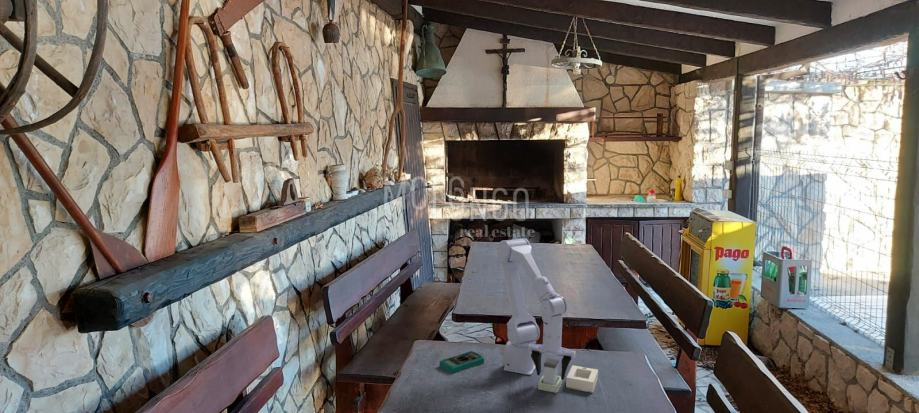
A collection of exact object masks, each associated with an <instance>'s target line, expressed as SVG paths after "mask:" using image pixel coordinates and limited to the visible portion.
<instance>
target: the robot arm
mask: <svg viewBox="0 0 919 413" xmlns="http://www.w3.org/2000/svg"><path fill="white" fill-rule="evenodd" d="M496 251H497V256H498V260H499V265H500V267H501V270H502V274H503V279H504V284H505V288H506V292H507V298H508V301H509V302H508V303H509V308H510V311H511V315H512V316H511V318H510V319H509V321H507V323H506V327H507V331H506V332H507V333H506V335H507V336H506V337H507V339H508V341H506V344H505V349H504V364H503V366H504V368H503V371H504V372H505V371H506V372H512V373H518V374H522V375H528V376H531V375H533V373H534V371H535V369H536V374H537V376H540V375H541V372H542V356H543V354H545V355H547V356H559V357H562V358H561V362H560V363H561V374H560V376H561V379H562V380H563V381H564V380H565V377H566V372H567V370H568V366H569V364H570V363H571V360H575V358H576V352H577V350H572V349H569V348H566V347H562V334H563V331H562V330H563V315H565V313H566V312H567V310H568V306H567V301H566V299H565V298H564V296H563V295H560V294H559V293H558V292H556V291H555V289H554V288H553V285H552V283H551V282H550V281H549V279H548V278H547V277H546V276H544V275H543V276H542V273H541V272H540V270H539V267H538V265H537V264H536V261H535V260H534V257H533V255H532V252H533V247H532V246H531V243H530V241H529V240H528V239H527V238H526V237H523V238H522V237H521V238H515V239H507V240H503V239H502V240H501V241H500V242H499V243H498V246H497V248H496ZM520 265H521V267H522V269H523V270H524V271H525V273H526V274H527V276H528V277H529V279H530V280H531V286H530V287H531V289H532V290H533V292H534V293H535V296H536V298H537V299H538V301H539V303H540V304H539V309H540V312H541V319H542V322H543V326H542V328H543V331H542V332H543V333H542V344H541V343H540V344H538V343H537V341H538V340H539V339H540V335H541V331H540V327H539V325H538V324H537V322H536V318H535V317H534V316H532V315H531V314H529V312H528V307H527V303H526V299H525V293H524V291H523V285H522V281H521V277H520V276H521V275H520V273H519V266H520Z"/></svg>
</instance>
